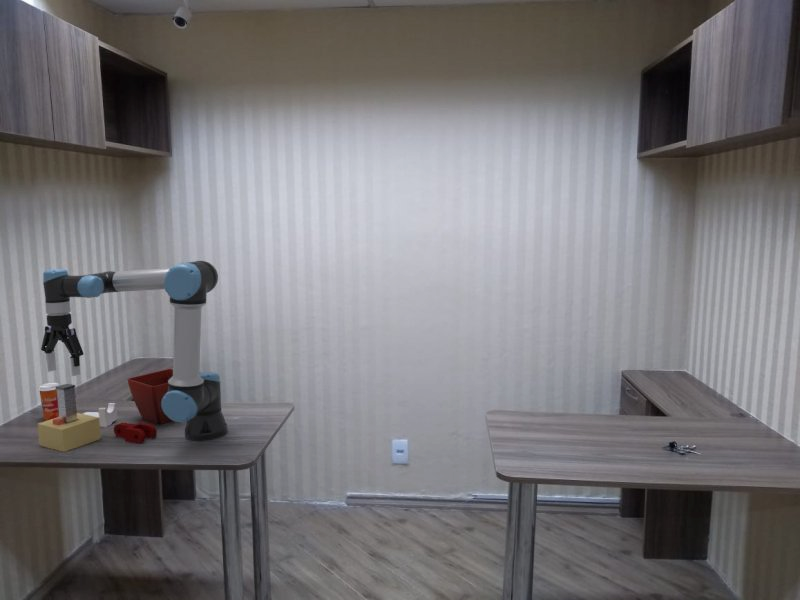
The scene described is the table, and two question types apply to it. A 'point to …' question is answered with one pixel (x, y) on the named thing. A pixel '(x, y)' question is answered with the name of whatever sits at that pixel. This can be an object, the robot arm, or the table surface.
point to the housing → (69, 432)
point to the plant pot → (151, 394)
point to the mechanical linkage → (135, 431)
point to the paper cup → (49, 400)
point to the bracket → (105, 415)
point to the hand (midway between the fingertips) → (63, 373)
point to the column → (67, 403)
